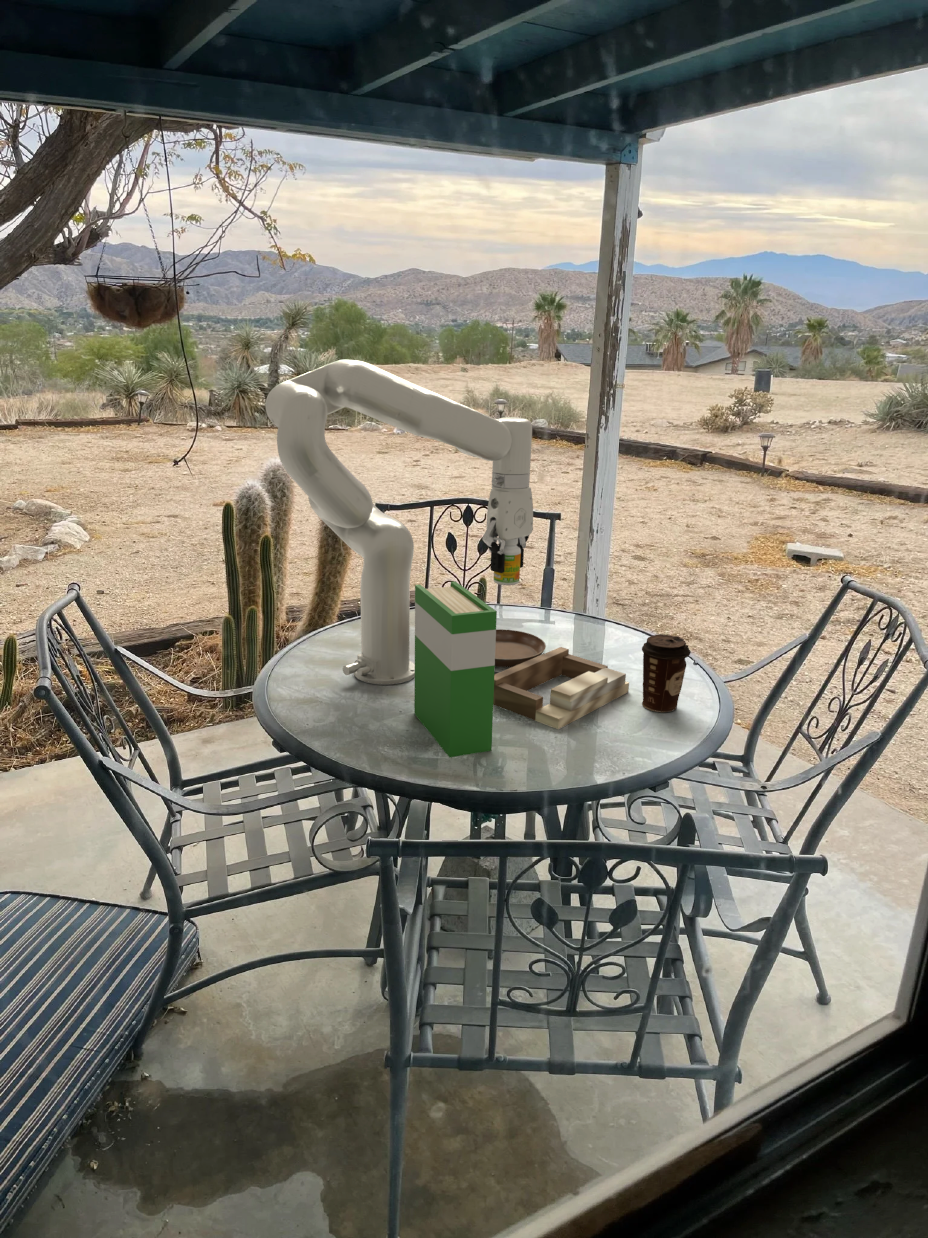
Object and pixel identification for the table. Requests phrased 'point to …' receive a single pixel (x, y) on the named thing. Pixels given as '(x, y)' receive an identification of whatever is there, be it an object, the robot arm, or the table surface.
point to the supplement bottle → (510, 564)
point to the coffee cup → (663, 671)
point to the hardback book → (455, 668)
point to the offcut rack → (558, 687)
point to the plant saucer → (516, 647)
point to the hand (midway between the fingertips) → (506, 568)
